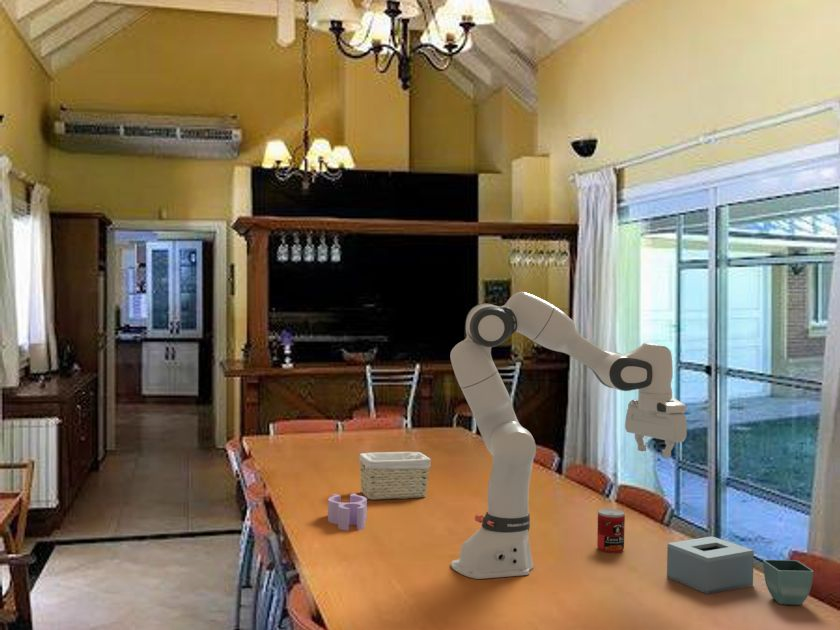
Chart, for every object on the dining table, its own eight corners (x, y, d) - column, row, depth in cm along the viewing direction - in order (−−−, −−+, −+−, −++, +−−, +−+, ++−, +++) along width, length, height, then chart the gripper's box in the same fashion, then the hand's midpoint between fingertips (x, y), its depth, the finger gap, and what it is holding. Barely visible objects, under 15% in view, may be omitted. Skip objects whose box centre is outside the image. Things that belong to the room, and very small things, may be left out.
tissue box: (707, 594, 210) (708, 558, 210) (666, 577, 223) (667, 543, 222) (752, 585, 217) (753, 550, 217) (711, 569, 230) (711, 536, 230)
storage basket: (418, 488, 322) (419, 450, 321) (431, 498, 306) (432, 458, 306) (357, 492, 315) (357, 452, 314) (366, 502, 299) (367, 460, 299)
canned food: (605, 554, 242) (605, 515, 242) (592, 546, 250) (593, 509, 250) (629, 552, 244) (630, 514, 244) (615, 544, 252) (616, 507, 252)
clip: (373, 529, 264) (373, 507, 264) (333, 531, 261) (333, 509, 261) (362, 513, 284) (362, 493, 284) (325, 515, 281) (325, 494, 281)
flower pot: (796, 595, 210) (797, 559, 210) (813, 608, 202) (814, 570, 201) (761, 595, 210) (762, 559, 210) (777, 608, 201) (778, 570, 201)
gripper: (620, 399, 237) (619, 448, 238) (673, 408, 219) (672, 461, 220) (637, 398, 240) (636, 446, 241) (691, 406, 222) (690, 459, 222)
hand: (653, 453), depth 230 cm, fingers open, 8 cm apart
